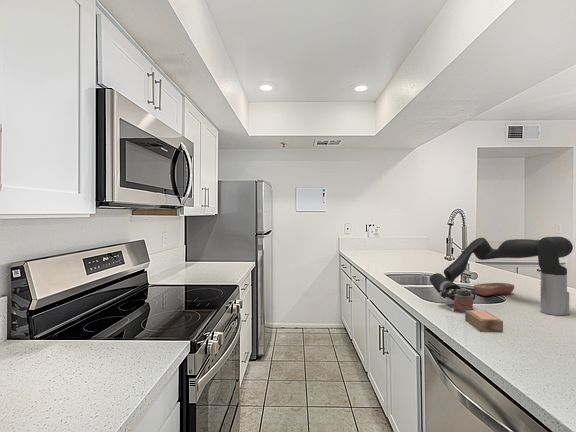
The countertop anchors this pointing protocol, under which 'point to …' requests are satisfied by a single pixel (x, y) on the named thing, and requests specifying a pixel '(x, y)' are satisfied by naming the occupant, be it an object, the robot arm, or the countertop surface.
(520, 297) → the countertop surface
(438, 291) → the robot arm
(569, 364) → the countertop surface
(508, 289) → the mitochondrion cross-section
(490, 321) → the wooden block
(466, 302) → the lighter
